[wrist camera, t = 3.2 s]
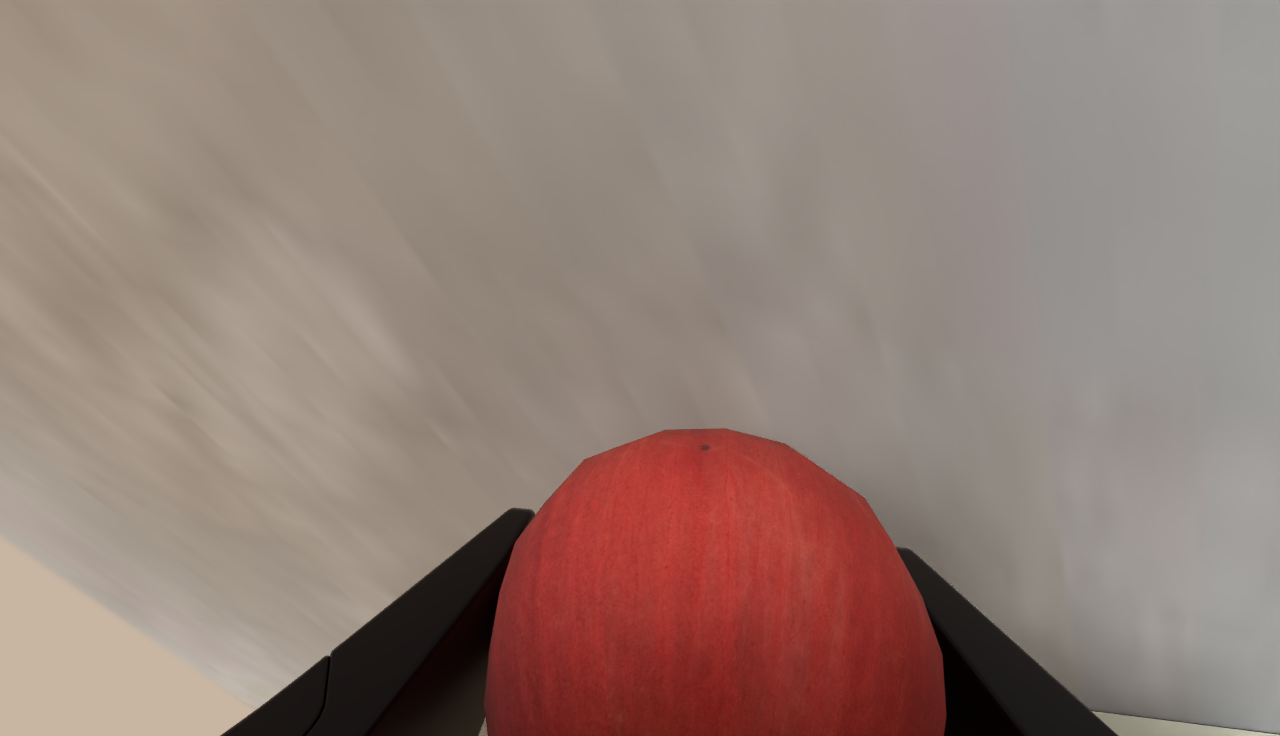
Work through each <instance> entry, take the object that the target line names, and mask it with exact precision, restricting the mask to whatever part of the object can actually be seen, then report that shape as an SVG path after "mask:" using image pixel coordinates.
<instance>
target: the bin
mask: <svg viewBox="0 0 1280 736" xmlns="http://www.w3.org/2000/svg"><path fill="white" fill-rule="evenodd" d="M1092 712H1093V713H1094V714H1095V715H1096V716H1097V717H1098V718H1100V719H1101V720H1102V721H1103V722H1104V723H1105V724H1106V725H1107V726H1109V727H1110V728H1111V729H1112V730H1113V731H1114V732H1115V733H1116V734H1117V735H1119V736H1280V735H1277V734H1269V733H1261V732H1253V731H1245V730H1237V729H1230V728H1222V727H1214V726H1206V725H1198V724H1190V723H1182V722H1174V721H1166V720H1158V719H1151V718H1143V717H1135V716H1127V715H1119V714H1111V713H1103V712H1095V711H1092Z"/></svg>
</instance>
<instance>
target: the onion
mask: <svg viewBox="0 0 1280 736" xmlns="http://www.w3.org/2000/svg"><path fill="white" fill-rule="evenodd" d="M484 706H485V715H486V723H487V731H488V736H944V730H945V723H946V701H945V685H944V670H943V655H942V652H941V649H940V646H939V644H938V641H937V638H936V635H935V632H934V629H933V626H932V624H931V621H930V618H929V615H928V612H927V609H926V606H925V603H924V601H923V598H922V595H921V594H920V592H919V590H918V588H917V586H916V584H915V582H914V581H913V579H912V577H911V575H910V573H909V571H908V570H907V568H906V566H905V564H904V562H903V560H902V559H901V557H900V555H899V553H898V551H897V549H896V548H895V546H894V544H893V542H892V541H891V539H890V537H889V536H888V534H887V533H886V531H885V529H884V528H883V526H882V525H881V523H880V522H879V520H878V518H877V517H876V515H875V514H874V512H873V510H872V509H871V507H870V506H869V504H868V503H867V501H866V499H865V498H864V497H862V496H861V495H859V494H858V493H857V492H855V491H854V490H852V489H851V488H849V487H848V486H846V485H845V484H844V483H842V482H841V481H839V480H838V479H836V478H835V477H833V476H832V475H830V474H829V473H828V472H826V471H825V470H823V469H822V468H820V467H819V466H817V465H816V464H814V463H813V462H812V461H810V460H809V459H807V458H806V457H804V456H803V455H801V454H800V453H798V452H797V451H795V450H794V449H792V448H791V447H789V446H788V445H786V444H784V443H780V442H776V441H772V440H768V439H764V438H761V437H757V436H753V435H749V434H745V433H741V432H737V431H733V430H729V429H682V430H664V431H661V432H658V433H655V434H653V435H650V436H647V437H644V438H641V439H638V440H636V441H633V442H630V443H627V444H624V445H621V446H619V447H616V448H613V449H611V450H608V451H605V452H603V453H600V454H598V455H595V456H592V457H590V458H587V459H585V460H583V462H582V463H581V464H580V465H579V466H578V467H577V468H576V469H575V470H574V471H573V472H572V474H571V475H570V476H569V477H568V478H567V479H566V480H565V481H564V482H563V483H562V485H561V486H560V487H559V488H558V489H557V490H556V491H555V492H554V493H553V494H552V495H551V497H550V498H549V499H548V500H547V501H546V502H545V503H544V504H543V506H542V507H541V508H540V510H539V511H538V512H537V514H536V515H535V516H534V518H533V519H532V520H531V522H530V523H529V524H528V526H527V527H526V528H525V530H524V531H523V532H522V534H521V535H520V537H519V538H518V539H517V541H516V542H515V545H514V548H513V551H512V554H511V557H510V561H509V564H508V567H507V570H506V573H505V576H504V580H503V583H502V586H501V589H500V592H499V598H498V603H497V609H496V614H495V620H494V626H493V631H492V637H491V642H490V648H489V656H488V667H487V677H486V688H485V699H484Z"/></svg>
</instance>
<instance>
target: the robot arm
mask: <svg viewBox="0 0 1280 736" xmlns="http://www.w3.org/2000/svg"><path fill="white" fill-rule="evenodd" d="M534 516H535V513H534V511H533V510H531V509H522V508H511V509H509V510H508V511H506V512H505V513H504V514H503V515H501V516H500V517H499V518H498V519H496V520H495V521H494V522H493V523H491V524H490V525H489V526H488V527H486V528H485V529H484V530H483V531H481V532H480V533H479V534H478V535H476V536H475V537H474V538H473V539H471V540H470V541H469V542H468V543H466V544H465V545H464V546H463V547H461V548H460V549H459V550H458V551H456V552H455V553H454V554H453V555H451V556H450V557H449V558H448V559H446V560H445V561H444V562H443V563H441V564H440V565H439V566H438V567H436V568H435V569H434V570H433V571H431V572H430V573H429V574H428V575H426V576H425V577H424V578H423V579H421V580H420V581H419V582H418V583H416V584H415V585H414V586H413V587H411V588H410V589H409V590H408V591H406V592H405V593H404V594H403V595H401V596H400V597H399V598H398V599H396V600H395V601H394V602H393V603H391V604H390V605H389V606H388V607H386V608H385V609H384V610H383V611H381V612H380V613H379V614H378V615H376V616H375V617H374V618H373V619H371V620H370V621H369V622H368V623H366V624H365V625H364V626H363V627H361V628H360V629H359V630H358V631H356V632H355V633H354V634H353V635H351V636H350V637H349V638H348V639H346V640H345V641H344V642H343V643H341V644H340V645H339V646H338V647H336V648H335V649H334V650H333V651H332V652H331V654H330V656H325V657H323V658H322V659H321V660H320V661H318V662H317V663H316V664H315V665H313V666H312V667H311V668H310V669H308V670H307V671H306V672H305V673H303V674H302V675H301V676H300V677H298V678H297V679H296V680H295V681H293V682H292V683H291V684H289V685H288V686H287V687H285V688H284V689H283V690H282V691H280V692H279V693H278V694H276V695H275V696H274V697H272V698H271V699H270V700H269V701H267V702H266V703H265V704H263V705H262V706H261V707H259V708H258V709H257V710H255V711H254V712H253V713H251V714H250V715H248V716H247V717H246V718H244V719H243V720H242V721H240V722H239V723H237V724H236V725H235V726H233V727H232V728H230V729H229V730H228V731H226V732H225V733H223V734H222V735H221V736H478V735H479V732H480V730H481V727H482V724H483V722H484V719H485V717H486V715H485V706H484V699H485V688H486V677H487V667H488V656H489V648H490V642H491V637H492V631H493V626H494V620H495V614H496V609H497V603H498V598H499V592H500V589H501V586H502V583H503V580H504V576H505V573H506V570H507V567H508V564H509V561H510V557H511V554H512V551H513V548H514V545H515V542H516V541H517V539H518V538H519V537H520V535H521V534H522V532H523V531H524V530H525V528H526V527H527V526H528V524H529V523H530V522H531V520H532V519H533V518H534ZM895 548H896V549H897V551H898V553H899V555H900V557H901V559H902V560H903V562H904V564H905V566H906V568H907V570H908V571H909V573H910V575H911V577H912V579H913V581H914V582H915V584H916V586H917V588H918V590H919V592H920V594H921V595H922V598H923V601H924V603H925V606H926V609H927V612H928V615H929V618H930V621H931V624H932V626H933V629H934V632H935V635H936V638H937V641H938V644H939V646H940V649H941V652H942V655H943V670H944V685H945V701H946V723H945V730H944V736H1119V735H1117V734H1116V733H1115V732H1114V731H1113V730H1112V729H1111V728H1110V727H1109V726H1107V725H1106V724H1105V723H1104V722H1103V721H1102V720H1101V719H1100V718H1098V717H1097V716H1096V715H1095V714H1094V713H1093V712H1092V711H1091V710H1090V709H1088V708H1087V707H1086V706H1085V705H1084V704H1083V703H1082V702H1081V701H1079V700H1078V699H1077V698H1076V697H1075V696H1074V695H1073V694H1072V693H1071V692H1069V691H1068V690H1067V689H1066V688H1065V687H1064V686H1063V685H1062V684H1060V683H1059V682H1058V681H1057V680H1056V679H1055V678H1054V677H1053V676H1052V675H1050V674H1049V673H1048V672H1047V671H1046V670H1045V669H1044V668H1043V667H1041V666H1040V665H1039V664H1038V663H1037V662H1036V661H1035V660H1034V659H1033V658H1031V657H1030V656H1029V655H1028V654H1027V653H1026V652H1025V651H1024V650H1022V649H1021V648H1020V647H1019V646H1018V645H1017V644H1016V643H1015V642H1014V641H1012V640H1011V639H1010V638H1009V637H1008V636H1007V635H1006V634H1005V633H1003V632H1002V631H1001V630H1000V629H999V628H998V627H997V626H996V625H995V624H993V623H992V622H991V621H990V620H989V619H988V618H987V617H986V616H984V615H983V614H982V613H981V612H980V611H979V610H978V609H977V608H976V607H974V606H973V605H972V604H971V603H970V602H969V601H968V600H967V599H965V598H964V597H963V596H962V595H961V594H960V593H959V592H958V591H957V590H955V589H954V588H953V587H952V586H951V585H950V584H949V583H948V582H946V581H945V580H944V579H943V578H942V577H941V576H940V575H939V574H938V573H936V572H935V571H934V570H933V569H932V568H931V567H930V566H929V565H927V564H926V563H925V562H924V561H923V560H922V559H921V558H920V557H919V556H917V555H916V554H915V553H914V552H913V551H911V550H910V549H907V548H901V547H895Z"/></svg>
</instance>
